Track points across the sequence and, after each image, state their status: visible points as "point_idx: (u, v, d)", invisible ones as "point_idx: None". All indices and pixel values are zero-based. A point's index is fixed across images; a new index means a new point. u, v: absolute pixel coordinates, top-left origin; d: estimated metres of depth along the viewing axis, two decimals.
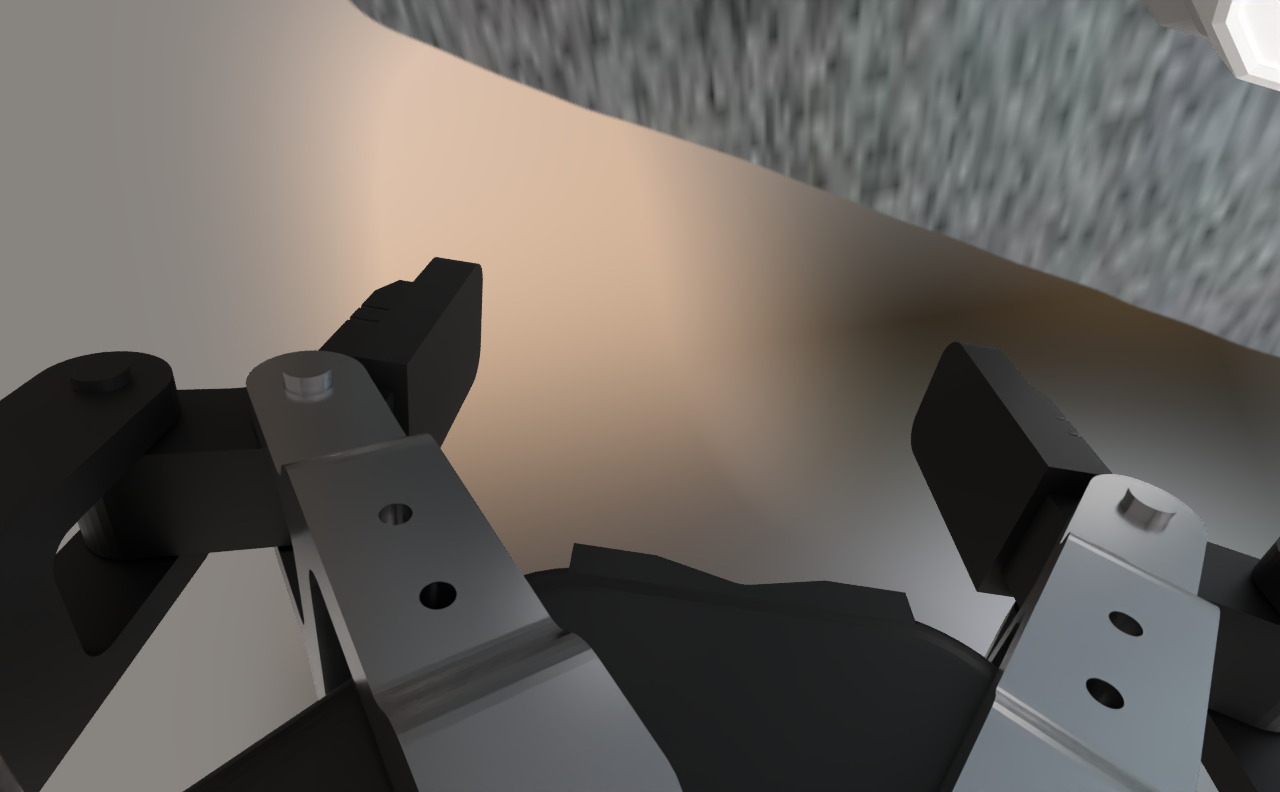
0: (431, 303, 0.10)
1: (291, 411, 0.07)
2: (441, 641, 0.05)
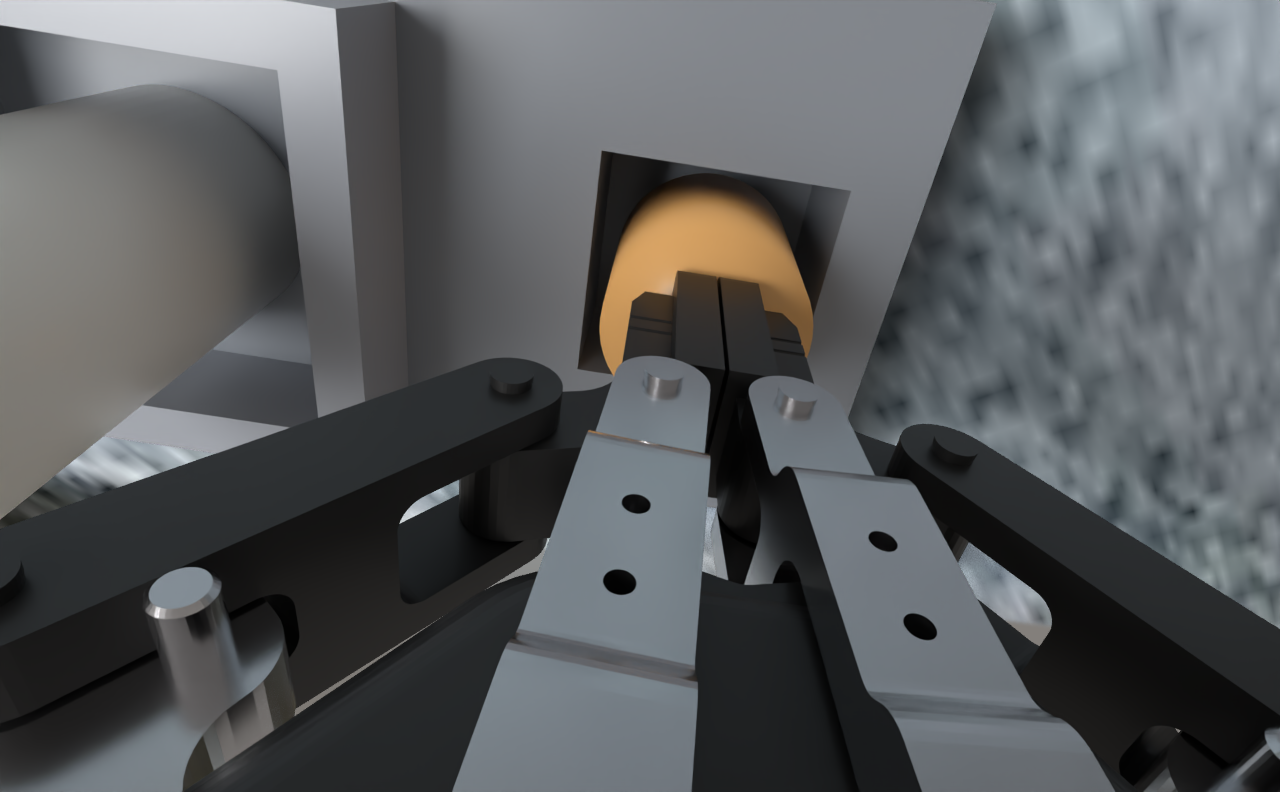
0: (705, 314, 0.11)
1: (673, 411, 0.08)
2: (595, 617, 0.05)
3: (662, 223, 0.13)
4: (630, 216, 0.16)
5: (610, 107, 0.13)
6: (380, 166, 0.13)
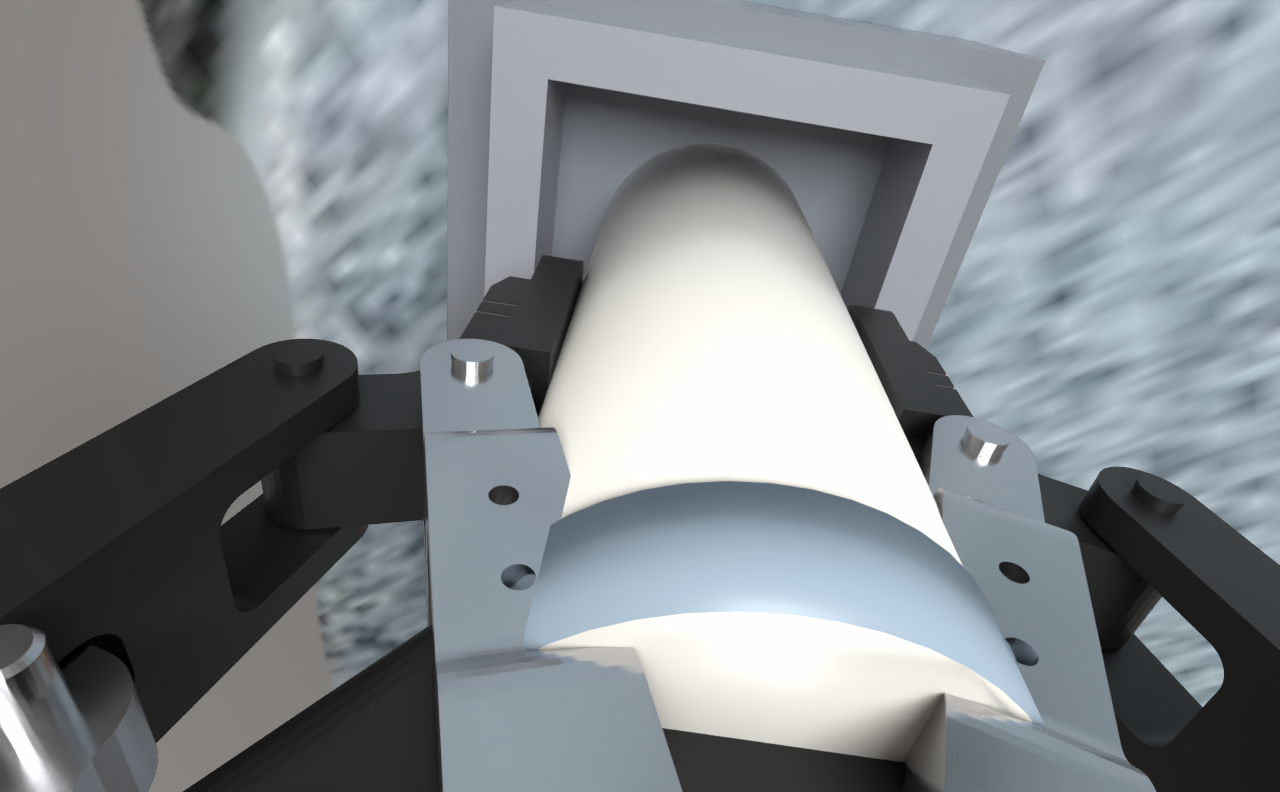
0: (554, 297, 0.11)
1: (469, 393, 0.08)
2: (508, 619, 0.05)
3: None
4: None
5: None
6: None
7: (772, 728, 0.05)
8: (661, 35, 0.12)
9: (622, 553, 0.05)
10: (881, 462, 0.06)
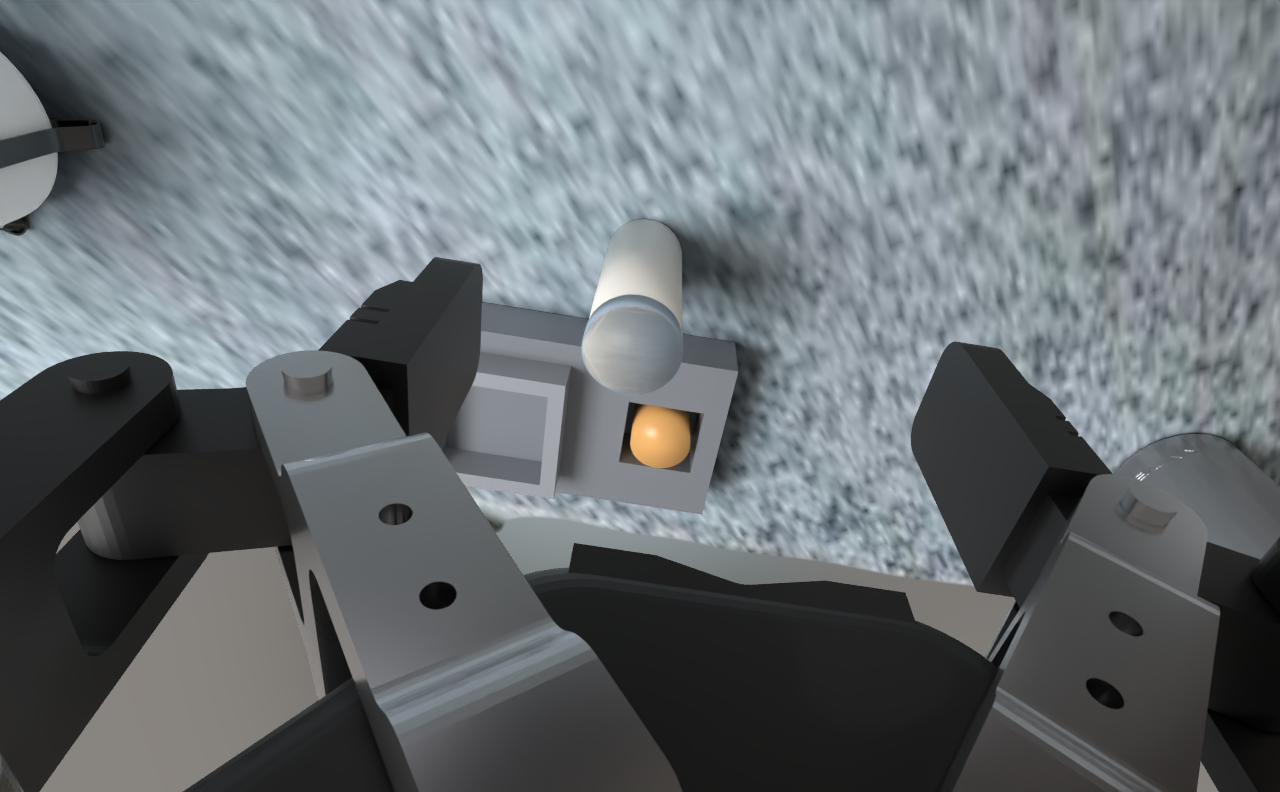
0: (431, 303, 0.10)
1: (291, 411, 0.07)
2: (441, 642, 0.05)
3: (648, 413, 0.47)
4: None
5: None
6: (564, 409, 0.45)
7: (636, 328, 0.33)
8: None
9: (614, 303, 0.33)
10: (660, 295, 0.35)
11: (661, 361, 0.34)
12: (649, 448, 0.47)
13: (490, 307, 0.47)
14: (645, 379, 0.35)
